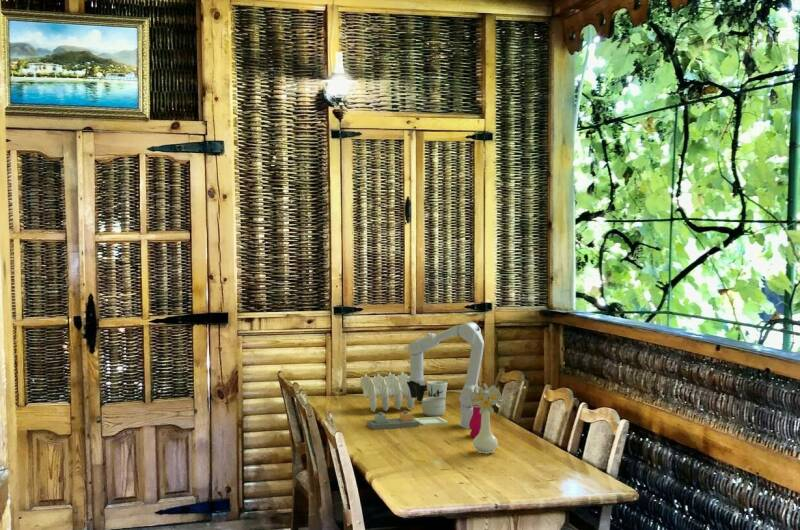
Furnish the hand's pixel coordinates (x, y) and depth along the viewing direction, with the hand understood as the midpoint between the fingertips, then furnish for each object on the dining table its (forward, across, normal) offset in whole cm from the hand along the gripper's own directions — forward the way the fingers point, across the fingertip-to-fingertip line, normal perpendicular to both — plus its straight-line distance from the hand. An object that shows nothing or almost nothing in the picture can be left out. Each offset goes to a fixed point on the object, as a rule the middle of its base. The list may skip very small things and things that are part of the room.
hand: (416, 399), depth 373 cm
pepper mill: (+10, +34, +14) cm, 38 cm away
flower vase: (+10, +60, +6) cm, 61 cm away
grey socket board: (+10, +6, -13) cm, 17 cm away
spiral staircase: (+10, -28, -3) cm, 30 cm away
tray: (+10, +4, +5) cm, 12 cm away
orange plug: (+10, +6, -7) cm, 13 cm away
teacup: (+10, -11, +13) cm, 20 cm away
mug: (+10, -41, +26) cm, 50 cm away
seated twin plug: (+10, +6, -18) cm, 22 cm away
